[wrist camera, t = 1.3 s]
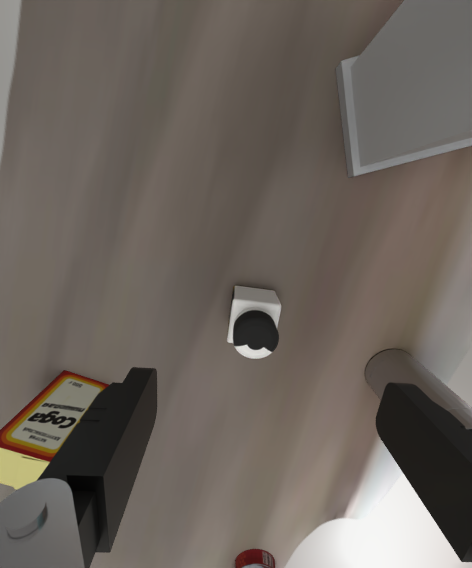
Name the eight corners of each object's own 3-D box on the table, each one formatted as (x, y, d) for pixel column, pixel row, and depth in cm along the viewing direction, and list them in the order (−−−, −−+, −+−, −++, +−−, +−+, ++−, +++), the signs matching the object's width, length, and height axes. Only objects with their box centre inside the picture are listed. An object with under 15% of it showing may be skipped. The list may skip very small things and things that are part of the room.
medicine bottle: (233, 284, 43) (232, 312, 31) (275, 290, 43) (288, 319, 32) (228, 322, 45) (225, 362, 33) (268, 327, 45) (278, 368, 34)
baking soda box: (57, 396, 50) (-23, 480, 34) (64, 370, 48) (-17, 446, 33) (105, 411, 51) (47, 499, 35) (113, 386, 49) (56, 467, 34)
